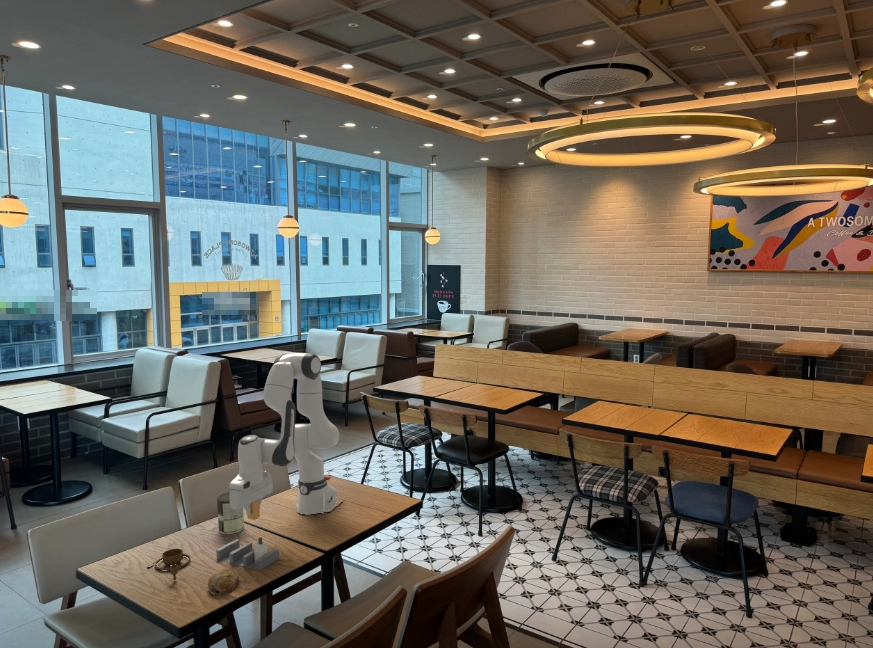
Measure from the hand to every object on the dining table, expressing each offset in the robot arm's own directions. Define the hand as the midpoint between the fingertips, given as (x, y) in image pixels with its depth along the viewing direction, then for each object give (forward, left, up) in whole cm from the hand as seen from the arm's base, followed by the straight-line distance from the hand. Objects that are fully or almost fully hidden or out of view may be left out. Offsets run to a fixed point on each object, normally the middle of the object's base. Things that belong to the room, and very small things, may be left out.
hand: (253, 511), depth 239 cm
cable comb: (+13, +9, -13) cm, 20 cm away
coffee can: (-6, -19, -13) cm, 24 cm away
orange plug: (0, 0, -2) cm, 2 cm away
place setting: (+29, -14, -14) cm, 35 cm away
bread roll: (+30, +15, -13) cm, 36 cm away
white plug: (+13, +15, -12) cm, 23 cm away
